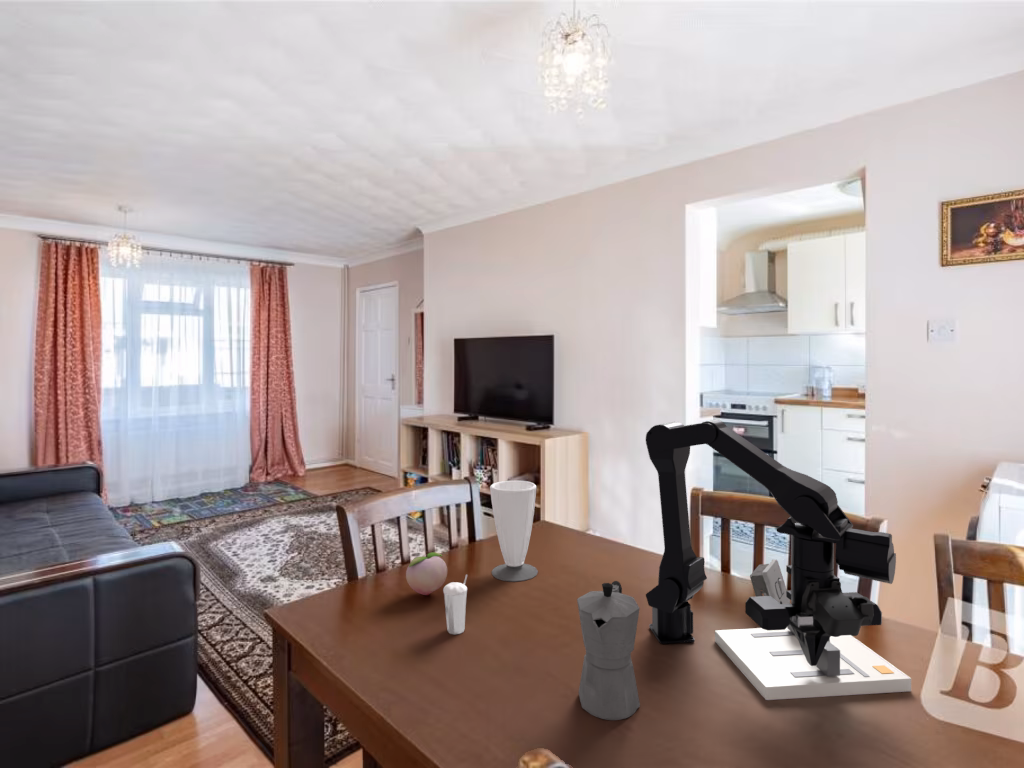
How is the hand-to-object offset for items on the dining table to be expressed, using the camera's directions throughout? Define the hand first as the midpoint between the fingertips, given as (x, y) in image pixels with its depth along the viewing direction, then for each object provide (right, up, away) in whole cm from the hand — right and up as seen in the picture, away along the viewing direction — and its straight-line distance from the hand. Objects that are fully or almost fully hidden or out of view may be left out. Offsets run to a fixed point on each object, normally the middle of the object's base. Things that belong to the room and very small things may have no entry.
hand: (811, 664), depth 82 cm
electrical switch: (+7, -3, +26) cm, 27 cm away
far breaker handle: (+4, -1, +12) cm, 13 cm away
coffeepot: (-32, -4, -1) cm, 32 cm away
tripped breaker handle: (+3, -1, 0) cm, 3 cm away
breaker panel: (+2, -3, +6) cm, 8 cm away
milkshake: (-57, -4, +20) cm, 61 cm away
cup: (-46, -3, +48) cm, 66 cm away
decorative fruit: (-65, -4, +35) cm, 74 cm away
